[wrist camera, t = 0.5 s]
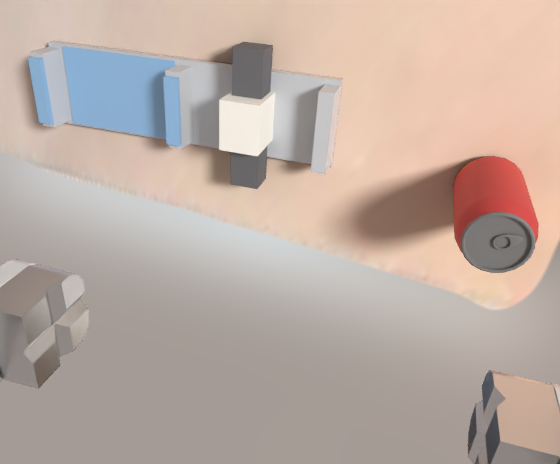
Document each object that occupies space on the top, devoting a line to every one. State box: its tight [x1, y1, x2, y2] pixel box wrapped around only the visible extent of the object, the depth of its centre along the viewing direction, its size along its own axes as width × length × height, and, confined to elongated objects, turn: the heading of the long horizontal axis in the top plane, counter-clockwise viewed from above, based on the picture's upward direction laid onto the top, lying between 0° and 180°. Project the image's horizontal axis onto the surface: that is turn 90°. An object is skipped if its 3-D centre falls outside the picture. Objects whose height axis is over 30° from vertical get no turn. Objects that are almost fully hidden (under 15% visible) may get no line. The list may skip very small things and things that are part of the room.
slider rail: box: [28, 41, 343, 174], centre depth 54 cm, size 9×32×4 cm, turn 86°
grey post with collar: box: [219, 42, 275, 189], centre depth 52 cm, size 14×4×5 cm, turn 176°
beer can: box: [453, 156, 538, 273], centre depth 46 cm, size 7×7×12 cm
